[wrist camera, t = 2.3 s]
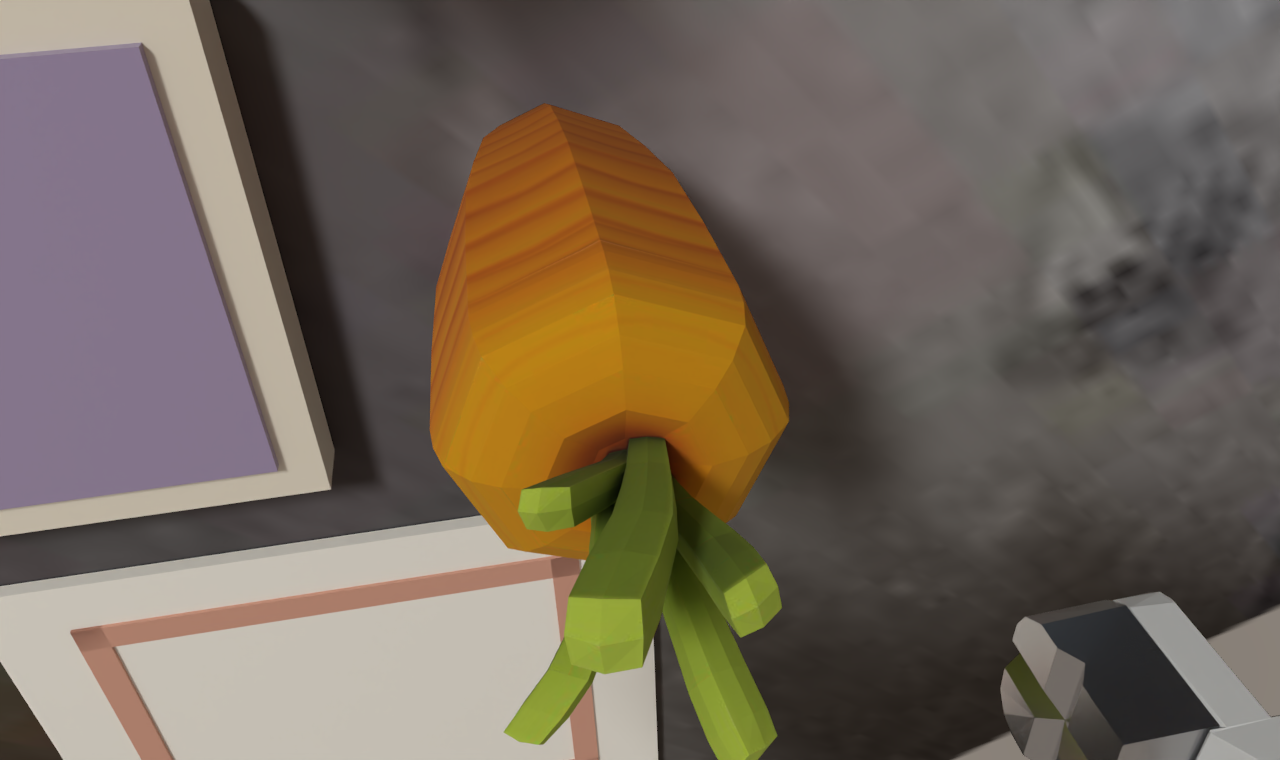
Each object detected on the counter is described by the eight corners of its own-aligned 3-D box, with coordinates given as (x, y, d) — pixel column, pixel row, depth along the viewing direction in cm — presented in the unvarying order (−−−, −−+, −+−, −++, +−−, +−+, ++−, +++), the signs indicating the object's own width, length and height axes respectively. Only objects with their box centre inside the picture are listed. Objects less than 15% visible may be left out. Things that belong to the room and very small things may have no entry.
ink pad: (197, -43, 19) (179, -17, 17) (334, 450, 26) (330, 496, 25) (-403, 4, 18) (-473, 36, 16) (-85, 507, 25) (-115, 559, 23)
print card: (645, 491, 29) (648, 502, 28) (656, 773, 37) (659, 785, 37) (-32, 591, 27) (-39, 605, 26) (142, 866, 35) (139, 881, 35)
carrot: (654, 221, 24) (895, 812, 12) (439, 243, 23) (468, 892, 11) (651, 3, 21) (970, 503, 9) (405, 21, 20) (394, 586, 8)
